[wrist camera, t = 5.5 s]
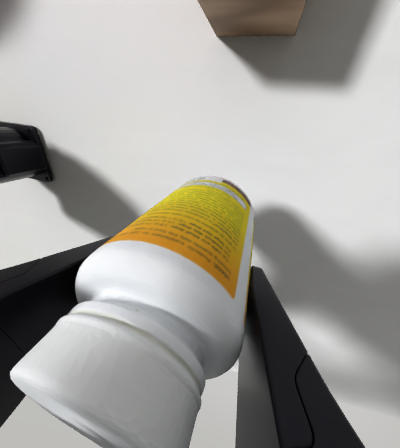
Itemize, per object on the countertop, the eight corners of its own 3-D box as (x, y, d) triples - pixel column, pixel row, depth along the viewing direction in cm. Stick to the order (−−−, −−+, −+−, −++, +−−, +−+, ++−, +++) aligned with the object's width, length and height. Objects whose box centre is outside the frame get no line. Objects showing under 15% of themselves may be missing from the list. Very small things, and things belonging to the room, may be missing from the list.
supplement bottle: (164, 183, 12) (-79, 324, 3) (247, 163, 10) (142, 413, 1) (188, 250, 14) (76, 436, 6) (260, 246, 12) (253, 540, 3)
